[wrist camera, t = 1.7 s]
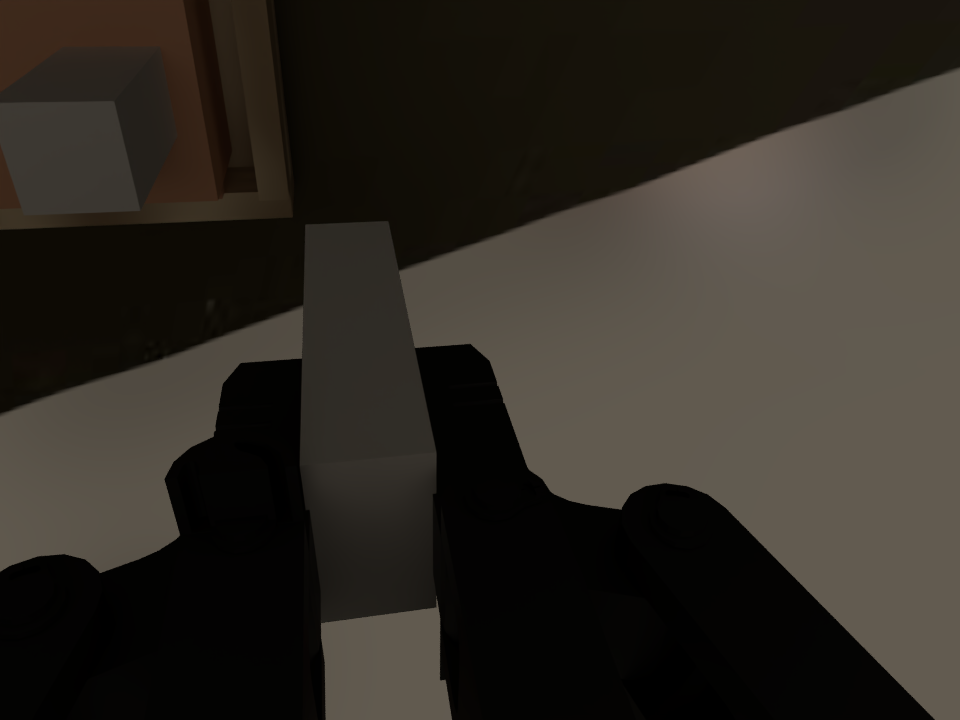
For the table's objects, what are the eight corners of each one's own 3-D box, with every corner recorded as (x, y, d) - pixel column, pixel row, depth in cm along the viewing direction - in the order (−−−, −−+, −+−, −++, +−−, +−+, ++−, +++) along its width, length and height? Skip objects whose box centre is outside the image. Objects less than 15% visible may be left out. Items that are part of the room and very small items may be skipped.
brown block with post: (14, 164, 31) (-137, 317, 21) (-63, -71, 26) (-314, -29, 16) (233, 158, 33) (196, 297, 22) (198, -65, 28) (129, -23, 17)
